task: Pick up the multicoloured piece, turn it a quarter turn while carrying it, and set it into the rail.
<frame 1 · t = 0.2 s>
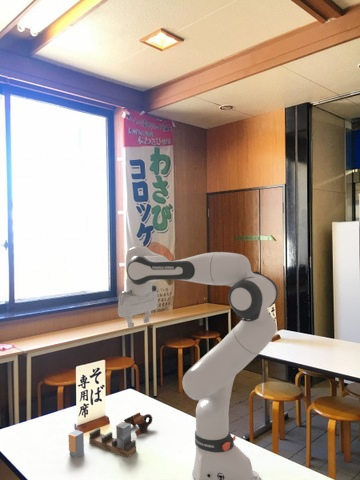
hand: (138, 325, 153), 48 cm above the table, fingers open, 8 cm apart
rail: (112, 447, 155), on the table
multicoloured piece: (76, 454, 151), on the table
pottery mug: (138, 431, 168), on the table
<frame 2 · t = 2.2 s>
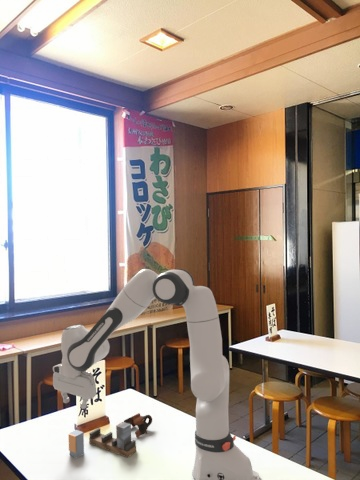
hand: (74, 405, 150), 19 cm above the table, fingers open, 8 cm apart
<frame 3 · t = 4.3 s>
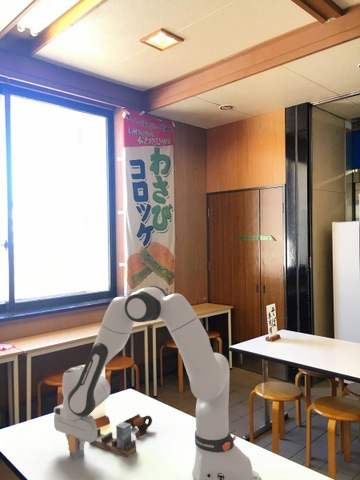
hand: (76, 447, 151), 3 cm above the table, fingers closed on multicoloured piece, 4 cm apart
multicoloured piece: (76, 454, 151), on the table, touching gripper
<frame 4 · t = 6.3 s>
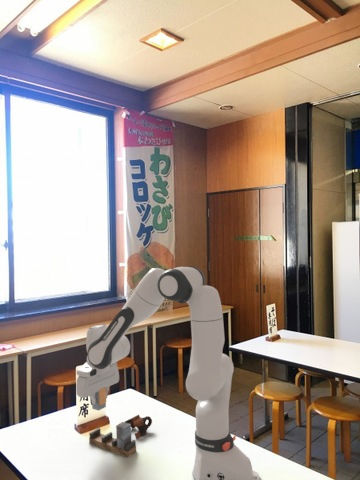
hand: (99, 401, 158), 17 cm above the table, fingers closed on multicoloured piece, 4 cm apart
multicoloured piece: (99, 407, 158), point 14 cm above the table, touching gripper
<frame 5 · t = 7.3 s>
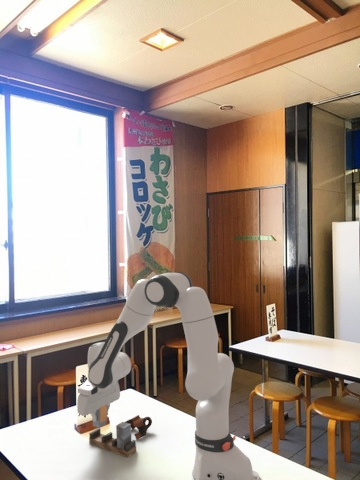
hand: (100, 418, 159), 10 cm above the table, fingers closed on multicoloured piece, 4 cm apart
multicoloured piece: (100, 425, 159), point 7 cm above the table, touching gripper
when the fingers open (6 cm above the table, at t = 8.2 s): multicoloured piece stays where it is, resting on rail.
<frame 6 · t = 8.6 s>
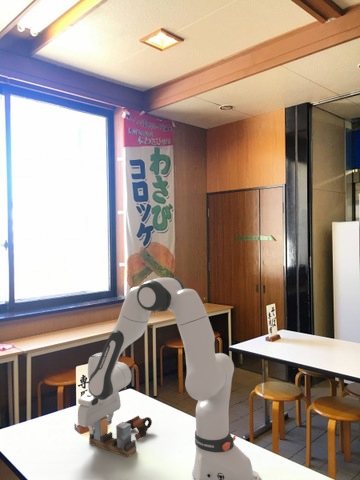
hand: (100, 428, 159), 6 cm above the table, fingers open, 8 cm apart
multicoloured piece: (101, 437, 159), point 2 cm above the table, touching rail
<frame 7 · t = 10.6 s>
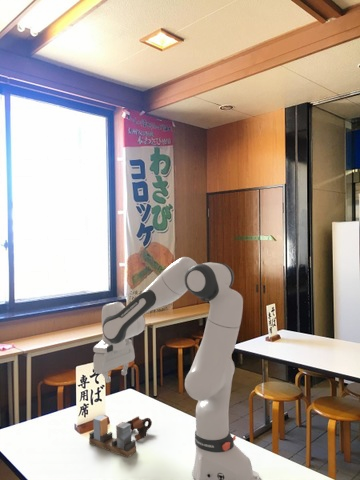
hand: (116, 378, 158), 26 cm above the table, fingers open, 8 cm apart
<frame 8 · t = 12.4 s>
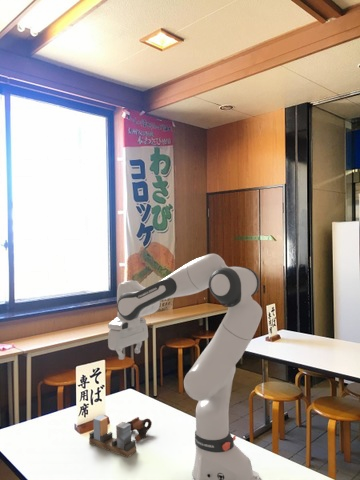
hand: (129, 356, 159), 34 cm above the table, fingers open, 8 cm apart
at the end: multicoloured piece 0.1 cm from the target spot on the rail, point 2.0 cm above the rail's base; multicoloured piece tilted 0°; the gripper is holding nothing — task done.
